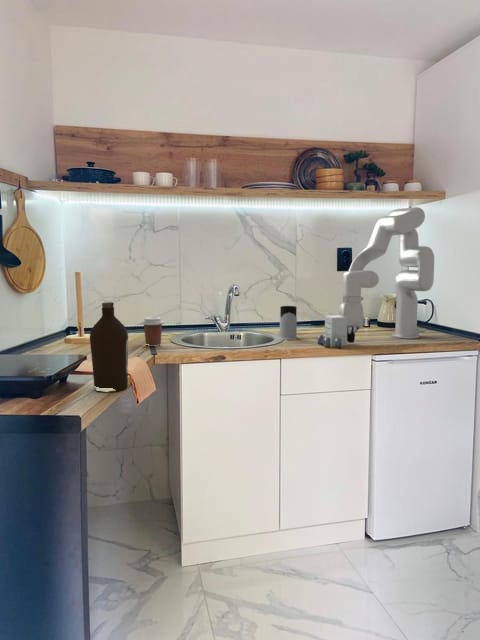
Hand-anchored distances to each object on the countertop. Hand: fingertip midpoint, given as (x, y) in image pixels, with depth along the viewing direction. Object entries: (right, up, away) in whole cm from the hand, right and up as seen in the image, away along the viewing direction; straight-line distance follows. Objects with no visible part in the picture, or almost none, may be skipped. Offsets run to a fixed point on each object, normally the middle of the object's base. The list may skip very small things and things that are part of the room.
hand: (350, 342), depth 203 cm
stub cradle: (-10, -1, -2) cm, 11 cm away
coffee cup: (-86, -2, 0) cm, 86 cm away
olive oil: (-86, -10, -67) cm, 109 cm away
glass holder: (-26, +1, +19) cm, 32 cm away
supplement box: (-7, -1, -1) cm, 7 cm away
